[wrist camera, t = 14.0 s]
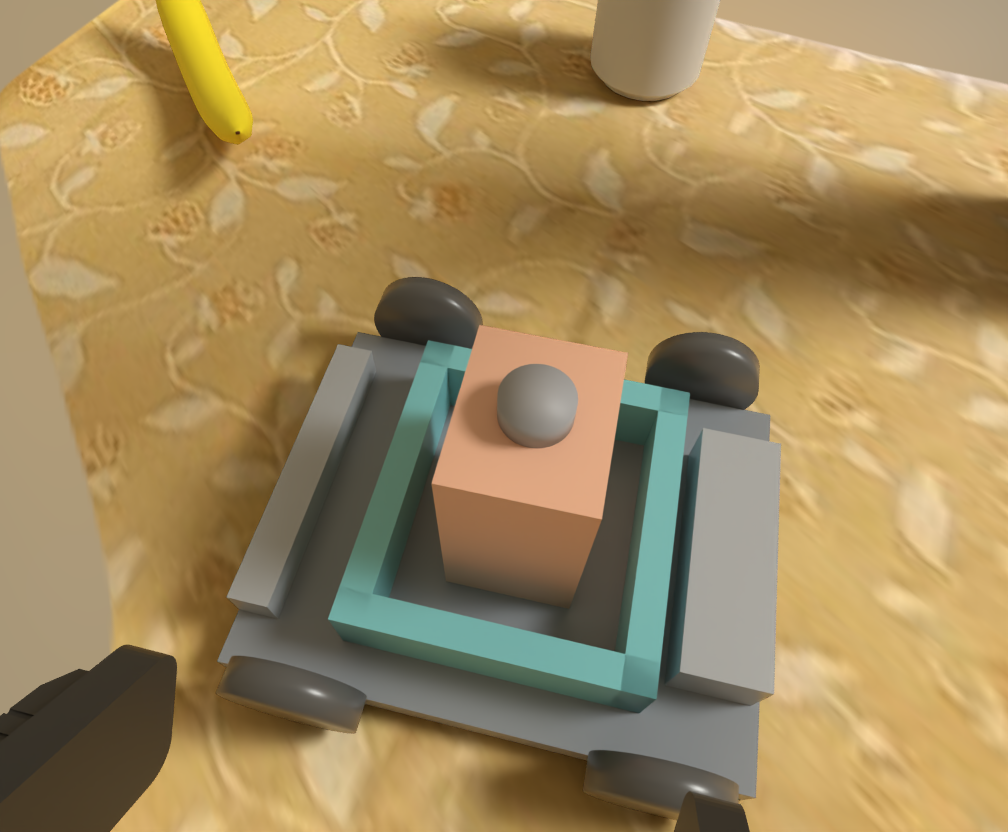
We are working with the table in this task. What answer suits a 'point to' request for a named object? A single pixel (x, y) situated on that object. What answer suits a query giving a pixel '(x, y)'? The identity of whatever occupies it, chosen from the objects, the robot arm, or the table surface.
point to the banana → (205, 69)
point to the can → (651, 45)
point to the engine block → (527, 464)
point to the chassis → (511, 620)
